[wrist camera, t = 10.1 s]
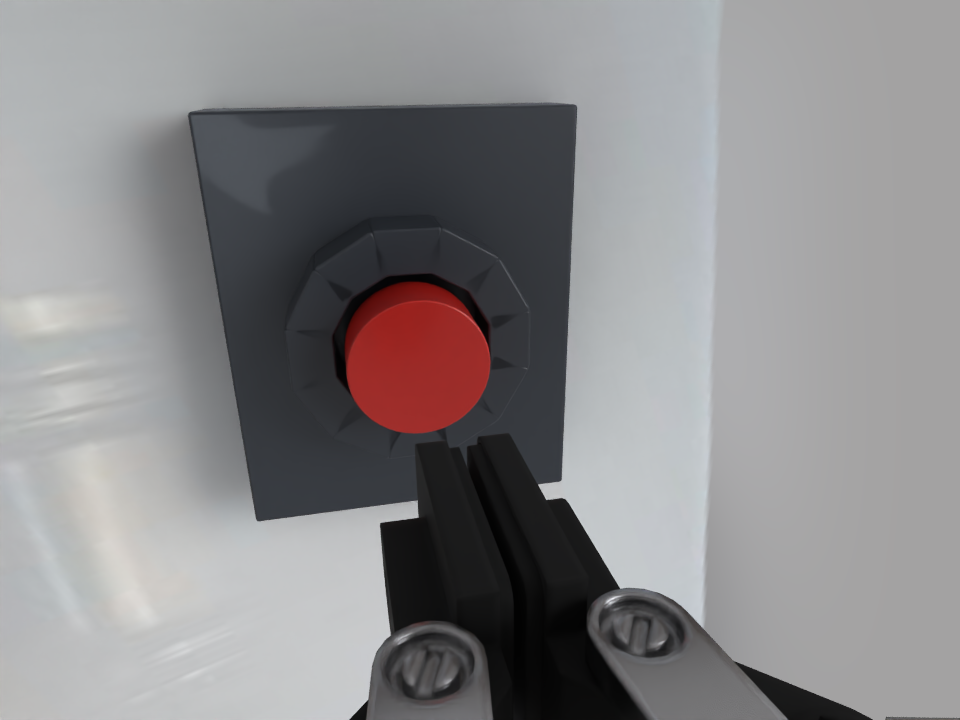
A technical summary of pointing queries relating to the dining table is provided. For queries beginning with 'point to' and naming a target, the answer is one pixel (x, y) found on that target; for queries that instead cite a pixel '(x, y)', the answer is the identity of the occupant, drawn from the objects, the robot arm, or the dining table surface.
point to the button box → (384, 278)
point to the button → (415, 358)
